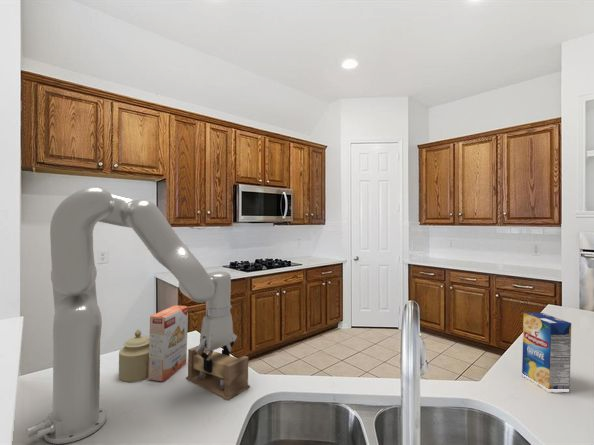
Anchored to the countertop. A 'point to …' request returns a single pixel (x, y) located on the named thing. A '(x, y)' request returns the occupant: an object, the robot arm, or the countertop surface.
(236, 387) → the rack
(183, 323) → the cracker box
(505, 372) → the countertop surface
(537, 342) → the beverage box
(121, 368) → the sugar bowl
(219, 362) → the light wood rectangular block
